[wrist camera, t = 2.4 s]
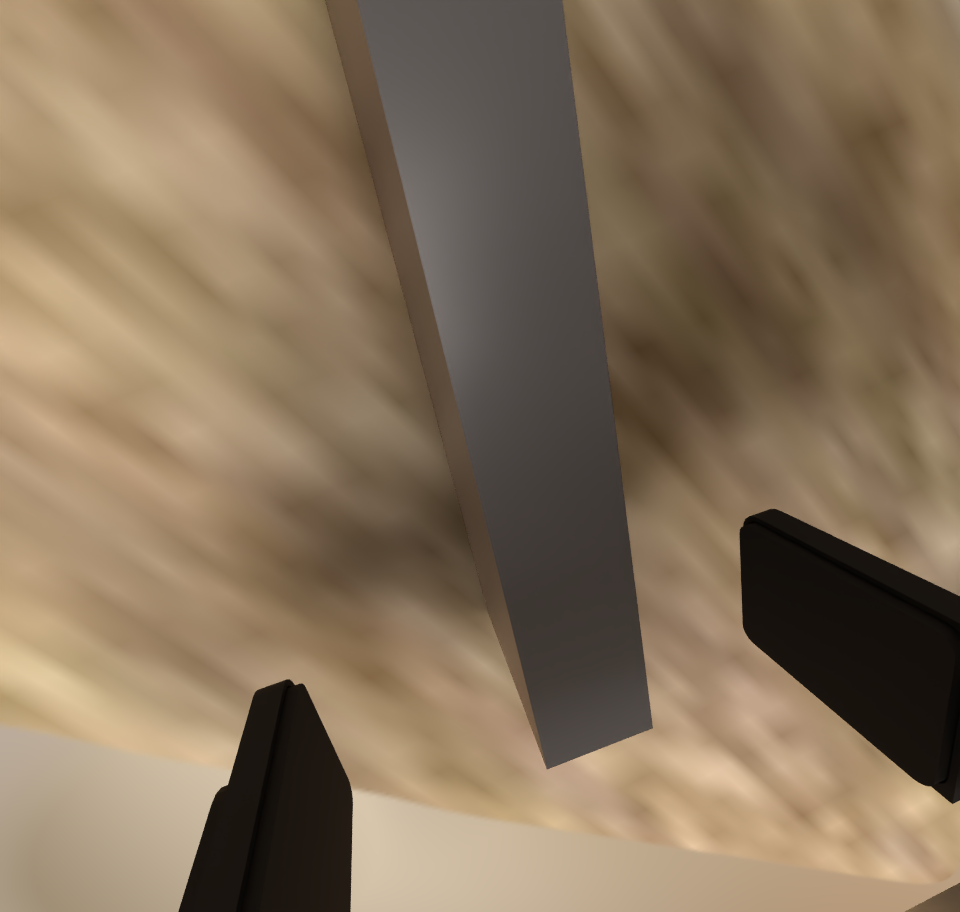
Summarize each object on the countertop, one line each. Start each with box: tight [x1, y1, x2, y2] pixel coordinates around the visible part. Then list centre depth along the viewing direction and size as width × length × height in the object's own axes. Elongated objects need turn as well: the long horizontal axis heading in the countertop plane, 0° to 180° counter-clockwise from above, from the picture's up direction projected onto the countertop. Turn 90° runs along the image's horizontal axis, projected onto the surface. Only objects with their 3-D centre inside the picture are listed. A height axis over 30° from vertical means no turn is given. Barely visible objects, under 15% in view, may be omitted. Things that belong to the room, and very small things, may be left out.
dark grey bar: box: [325, 0, 653, 769], centre depth 8 cm, size 8×26×6 cm, turn 13°
